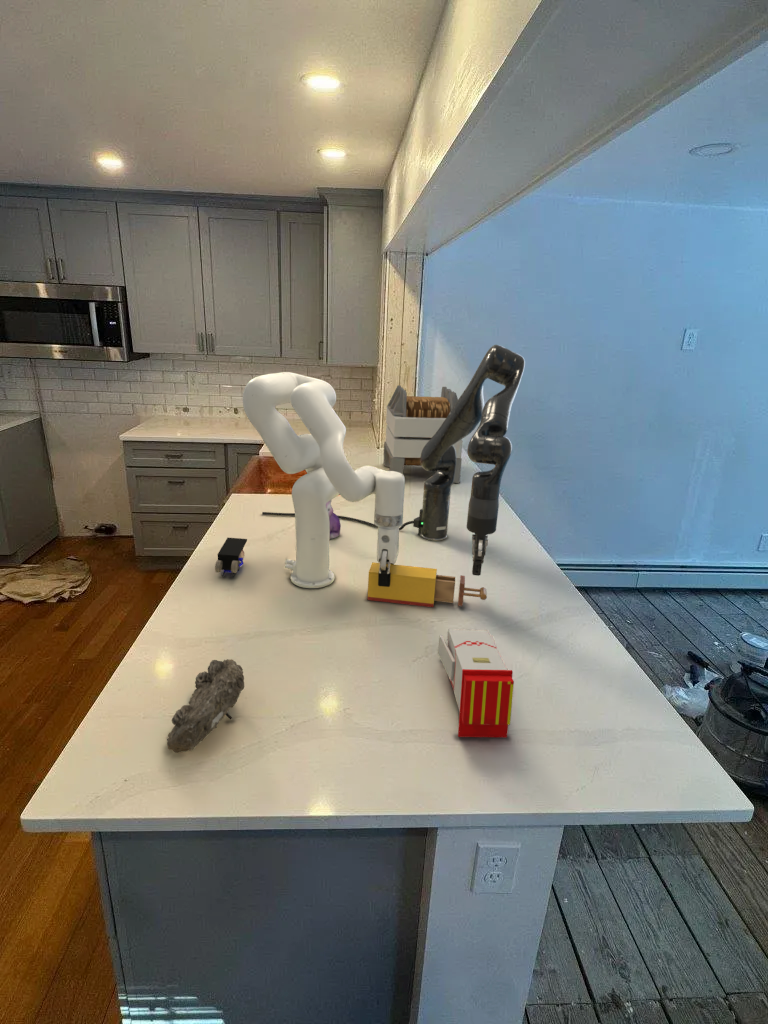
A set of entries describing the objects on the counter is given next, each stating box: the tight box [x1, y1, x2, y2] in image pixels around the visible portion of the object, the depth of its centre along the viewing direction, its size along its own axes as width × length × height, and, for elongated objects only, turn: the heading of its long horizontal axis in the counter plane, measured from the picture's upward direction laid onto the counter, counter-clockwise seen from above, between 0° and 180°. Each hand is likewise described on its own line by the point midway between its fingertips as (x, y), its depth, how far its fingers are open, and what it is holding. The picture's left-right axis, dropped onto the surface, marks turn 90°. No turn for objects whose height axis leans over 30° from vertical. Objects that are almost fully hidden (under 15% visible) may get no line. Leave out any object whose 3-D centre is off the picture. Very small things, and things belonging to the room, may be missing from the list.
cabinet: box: [366, 561, 438, 608], centre depth 154 cm, size 18×6×8 cm, turn 82°
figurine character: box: [214, 537, 248, 578], centre depth 166 cm, size 7×8×15 cm
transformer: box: [383, 384, 464, 484], centre depth 268 cm, size 34×33×41 cm
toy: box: [437, 628, 515, 738], centre depth 117 cm, size 12×13×30 cm
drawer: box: [434, 574, 488, 607], centre depth 153 cm, size 23×5×7 cm, turn 82°
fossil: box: [166, 658, 245, 754], centre depth 106 cm, size 22×10×15 cm
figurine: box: [326, 499, 342, 539], centre depth 193 cm, size 9×10×15 cm
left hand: (385, 579), depth 154 cm, fingers closed on cabinet, 6 cm apart
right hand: (476, 574), depth 150 cm, fingers closed
